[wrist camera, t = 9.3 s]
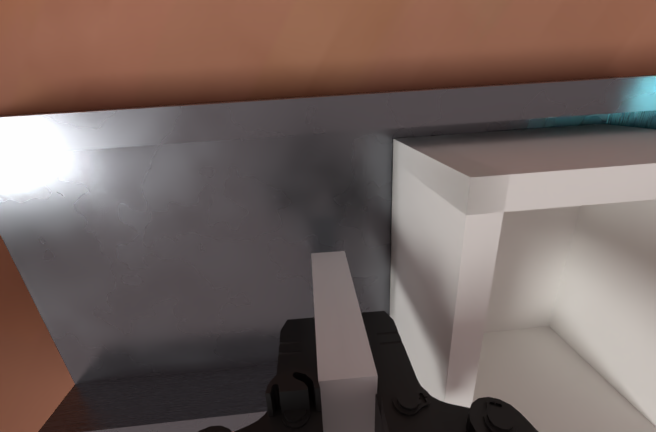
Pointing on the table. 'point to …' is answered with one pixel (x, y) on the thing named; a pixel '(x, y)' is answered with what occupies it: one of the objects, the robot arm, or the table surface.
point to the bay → (226, 230)
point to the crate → (530, 271)
